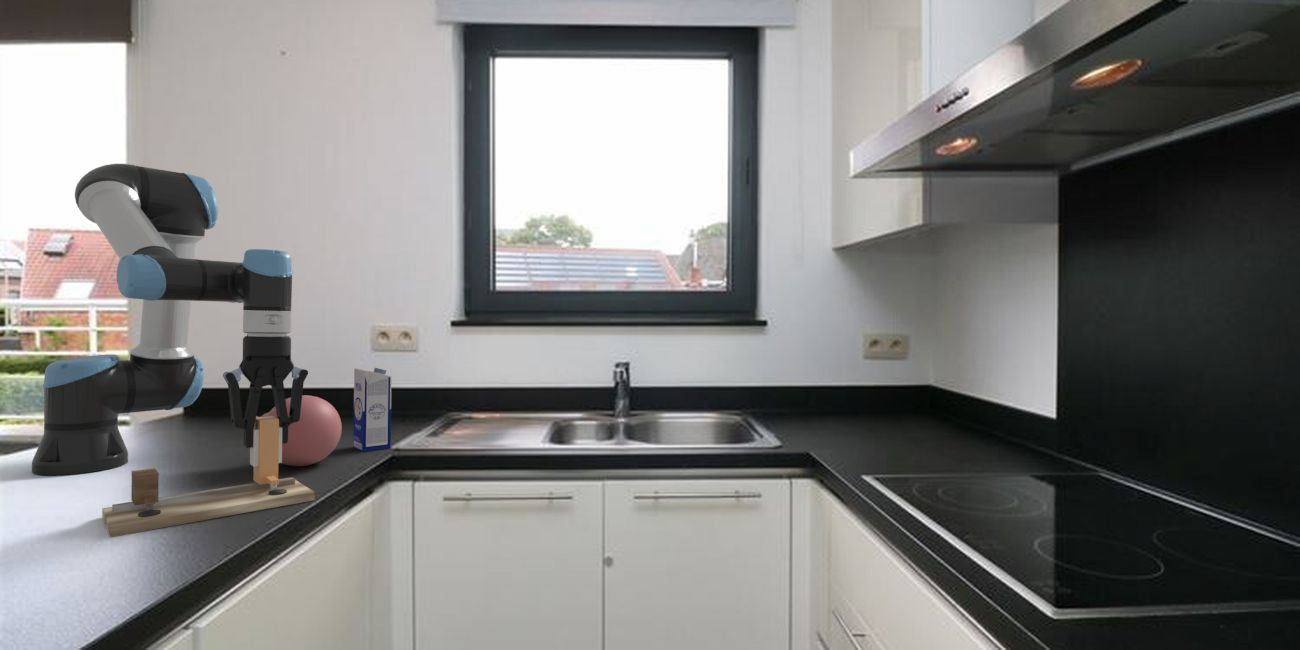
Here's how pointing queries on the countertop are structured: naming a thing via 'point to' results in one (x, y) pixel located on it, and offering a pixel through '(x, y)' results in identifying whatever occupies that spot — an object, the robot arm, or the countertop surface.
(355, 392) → the milk carton
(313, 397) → the balloon
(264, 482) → the orange wooden block
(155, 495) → the wooden slotted board
